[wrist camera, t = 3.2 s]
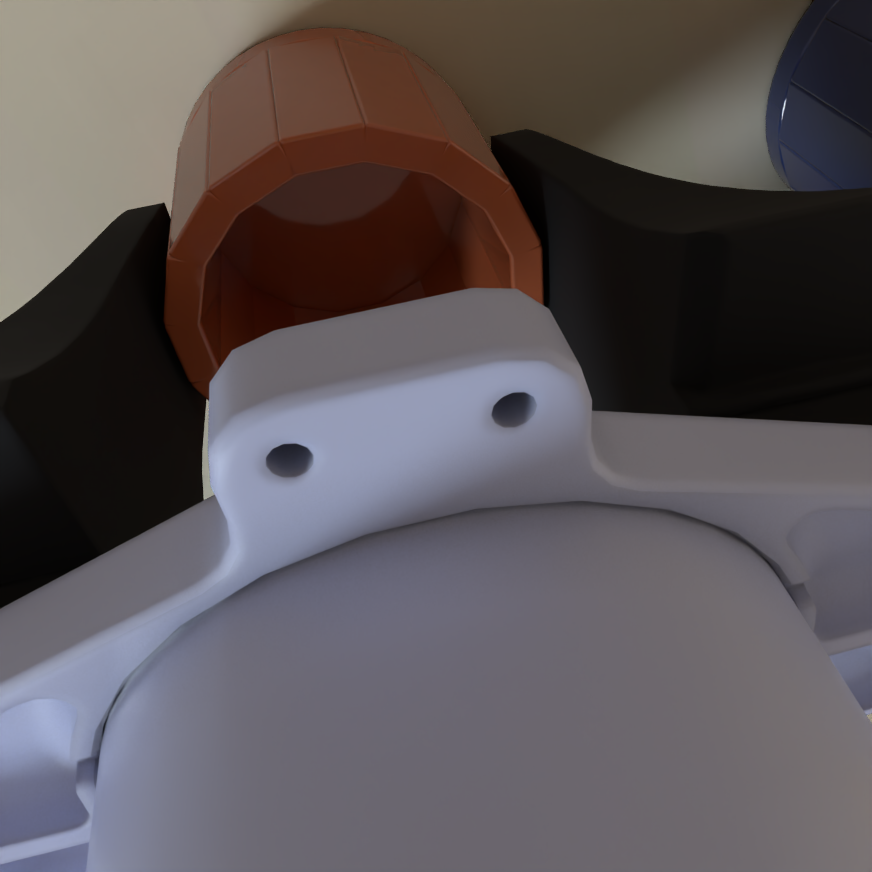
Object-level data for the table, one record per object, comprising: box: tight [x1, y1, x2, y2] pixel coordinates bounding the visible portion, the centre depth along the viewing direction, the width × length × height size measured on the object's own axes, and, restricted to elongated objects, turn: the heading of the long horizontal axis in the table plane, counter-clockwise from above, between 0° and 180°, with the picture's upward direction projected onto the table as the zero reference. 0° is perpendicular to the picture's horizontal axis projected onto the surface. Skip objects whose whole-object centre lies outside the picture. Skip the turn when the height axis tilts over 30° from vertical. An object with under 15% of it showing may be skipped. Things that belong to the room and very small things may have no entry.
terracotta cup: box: [163, 28, 544, 400], centre depth 13 cm, size 5×5×4 cm
